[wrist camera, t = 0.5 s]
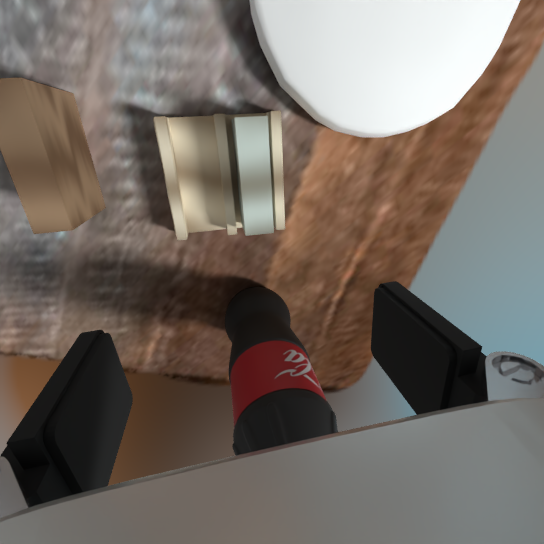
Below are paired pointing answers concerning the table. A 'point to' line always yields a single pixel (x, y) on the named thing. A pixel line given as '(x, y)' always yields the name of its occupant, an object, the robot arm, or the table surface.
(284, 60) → the plate
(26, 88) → the board
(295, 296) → the table surface
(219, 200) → the rack
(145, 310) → the table surface
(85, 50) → the table surface
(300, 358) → the cola bottle
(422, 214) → the table surface
